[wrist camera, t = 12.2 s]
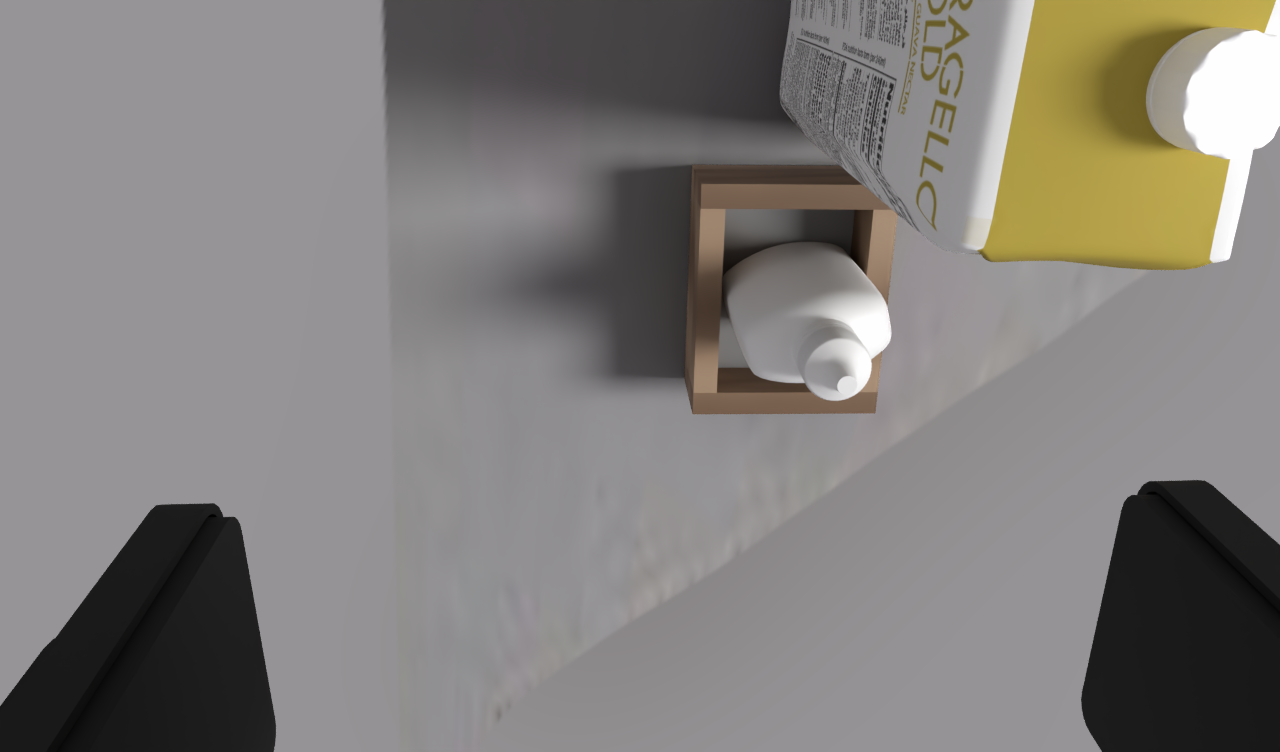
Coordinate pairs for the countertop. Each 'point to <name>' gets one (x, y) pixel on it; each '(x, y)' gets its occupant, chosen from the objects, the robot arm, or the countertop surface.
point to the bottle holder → (748, 223)
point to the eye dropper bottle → (807, 317)
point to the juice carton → (1044, 119)
